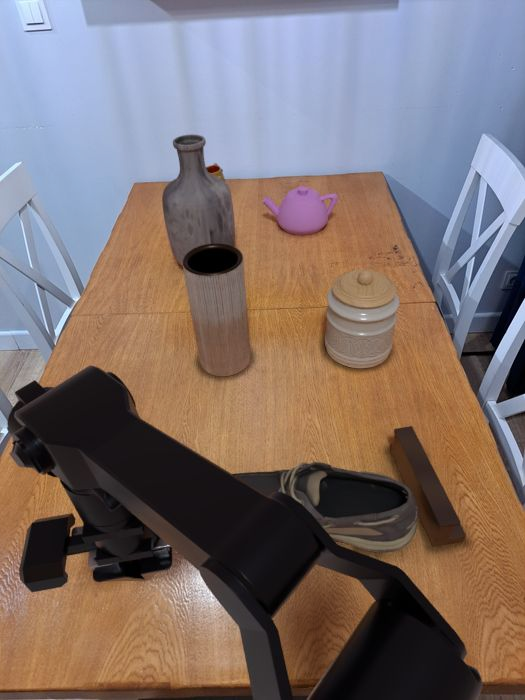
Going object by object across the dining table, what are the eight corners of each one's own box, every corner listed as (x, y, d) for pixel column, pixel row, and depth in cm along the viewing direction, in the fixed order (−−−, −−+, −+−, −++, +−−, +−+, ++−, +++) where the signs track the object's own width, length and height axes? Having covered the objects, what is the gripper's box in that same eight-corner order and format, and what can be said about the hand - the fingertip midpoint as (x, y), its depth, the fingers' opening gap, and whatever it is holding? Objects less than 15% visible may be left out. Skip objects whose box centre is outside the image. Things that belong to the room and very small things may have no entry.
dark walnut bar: (463, 541, 66) (474, 519, 62) (431, 547, 66) (440, 526, 62) (416, 447, 78) (423, 423, 74) (389, 451, 78) (394, 428, 74)
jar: (333, 321, 103) (338, 247, 91) (395, 333, 99) (409, 257, 87) (316, 362, 94) (319, 285, 82) (385, 376, 90) (398, 298, 78)
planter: (192, 353, 97) (173, 252, 82) (237, 336, 100) (227, 237, 85) (212, 384, 90) (195, 281, 75) (259, 365, 94) (253, 263, 78)
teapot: (264, 214, 141) (263, 177, 134) (334, 213, 139) (336, 176, 132) (261, 237, 130) (260, 200, 123) (337, 237, 129) (339, 198, 122)
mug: (223, 194, 152) (221, 173, 147) (202, 194, 153) (199, 173, 148) (230, 178, 161) (228, 158, 156) (209, 178, 161) (207, 158, 157)
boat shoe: (213, 477, 75) (204, 433, 68) (406, 485, 73) (419, 441, 66) (201, 545, 67) (190, 504, 60) (418, 557, 65) (434, 515, 58)
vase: (247, 272, 118) (237, 145, 98) (182, 288, 114) (159, 159, 94) (226, 242, 130) (214, 122, 109) (167, 255, 126) (143, 134, 106)
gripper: (212, 407, 48) (227, 494, 58) (16, 437, 46) (67, 521, 57) (224, 508, 40) (239, 588, 50) (-14, 549, 38) (52, 624, 48)
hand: (147, 575), depth 52 cm, fingers closed
